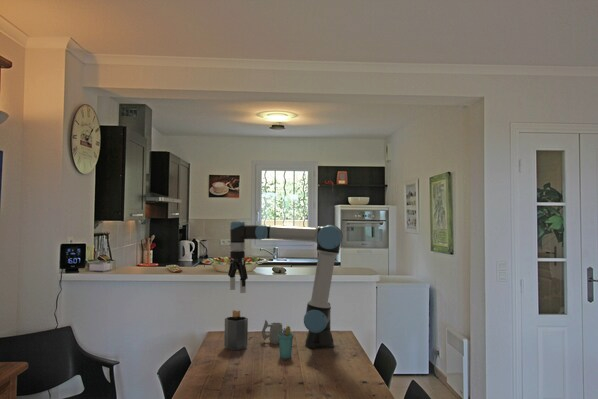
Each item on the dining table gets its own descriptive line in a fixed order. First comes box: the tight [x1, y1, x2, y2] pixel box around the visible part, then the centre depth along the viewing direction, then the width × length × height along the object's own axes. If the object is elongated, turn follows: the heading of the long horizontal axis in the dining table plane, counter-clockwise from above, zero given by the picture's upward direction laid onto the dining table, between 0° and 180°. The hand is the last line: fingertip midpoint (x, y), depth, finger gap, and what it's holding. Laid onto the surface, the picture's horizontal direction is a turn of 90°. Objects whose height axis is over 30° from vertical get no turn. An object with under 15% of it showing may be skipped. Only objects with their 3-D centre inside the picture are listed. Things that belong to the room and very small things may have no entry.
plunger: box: [232, 309, 241, 321], centre depth 243 cm, size 6×6×17 cm
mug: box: [261, 319, 284, 345], centre depth 255 cm, size 8×12×12 cm, turn 98°
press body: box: [223, 316, 249, 351], centre depth 244 cm, size 15×11×15 cm
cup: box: [278, 325, 294, 359], centre depth 226 cm, size 14×8×15 cm, turn 174°
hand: (237, 291), depth 244 cm, fingers open, 13 cm apart
